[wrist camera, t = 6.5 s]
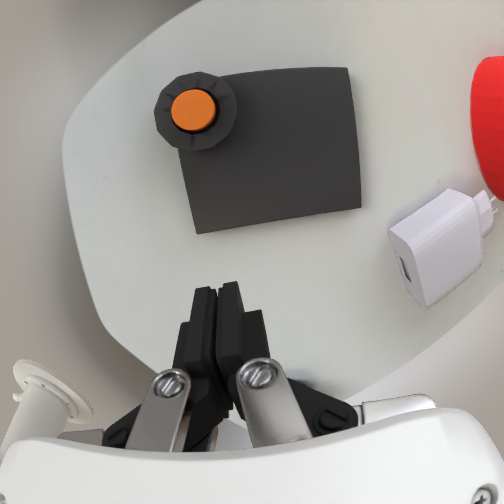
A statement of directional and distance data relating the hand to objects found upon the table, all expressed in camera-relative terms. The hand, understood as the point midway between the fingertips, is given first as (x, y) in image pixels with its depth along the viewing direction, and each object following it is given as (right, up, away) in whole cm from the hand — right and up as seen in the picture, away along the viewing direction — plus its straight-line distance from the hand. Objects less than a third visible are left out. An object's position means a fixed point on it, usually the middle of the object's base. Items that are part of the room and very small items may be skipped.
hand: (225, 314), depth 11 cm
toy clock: (+35, +18, +9) cm, 40 cm away
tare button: (-3, +12, +6) cm, 14 cm away
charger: (+23, +5, +14) cm, 27 cm away
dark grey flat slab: (+3, +11, +10) cm, 15 cm away
